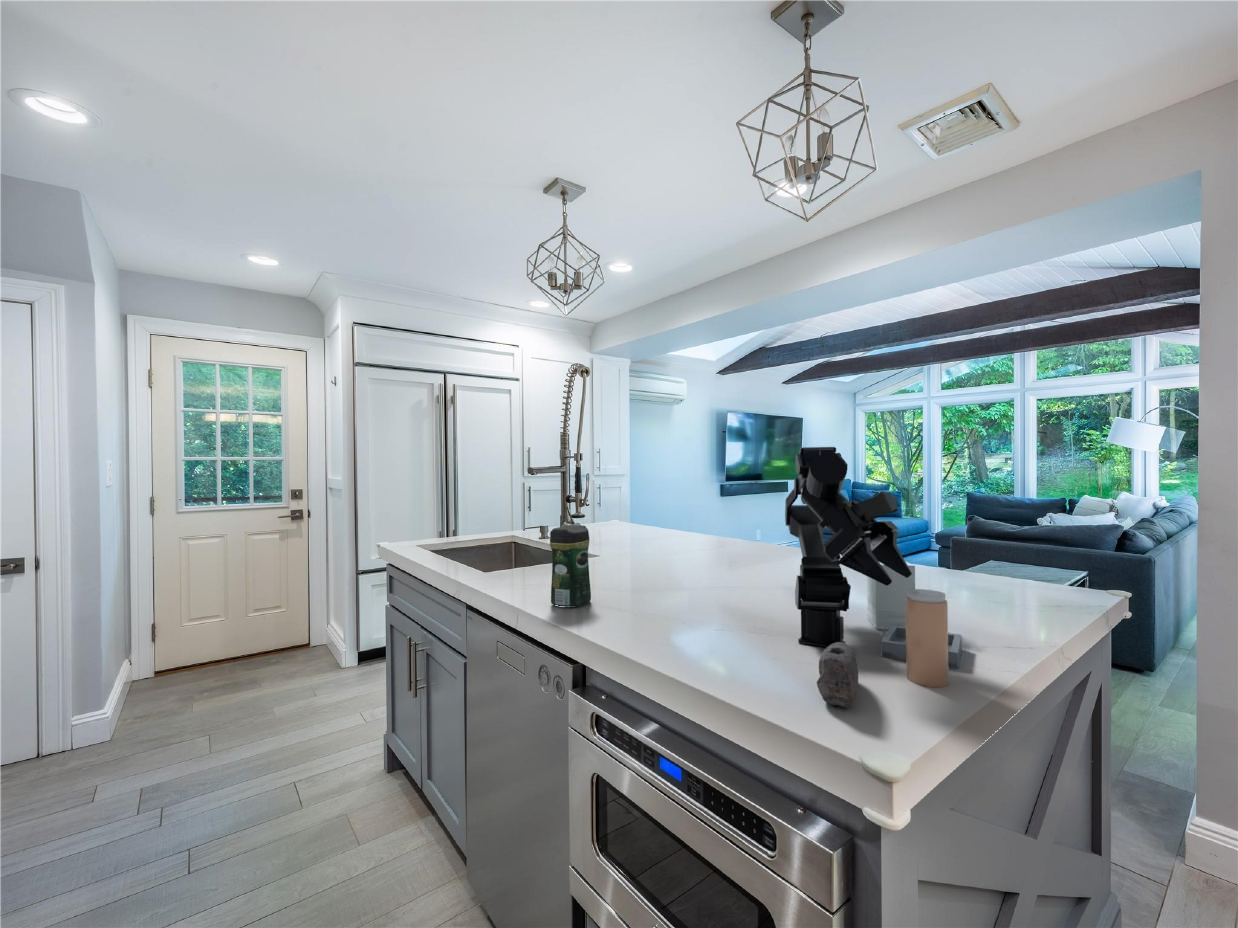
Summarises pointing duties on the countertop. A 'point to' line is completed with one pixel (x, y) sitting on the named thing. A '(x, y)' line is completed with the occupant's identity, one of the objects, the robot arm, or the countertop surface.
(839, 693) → the perforated stone tool
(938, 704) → the countertop surface
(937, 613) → the shaker
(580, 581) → the coffee jar
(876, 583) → the supplement box
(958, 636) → the tray
